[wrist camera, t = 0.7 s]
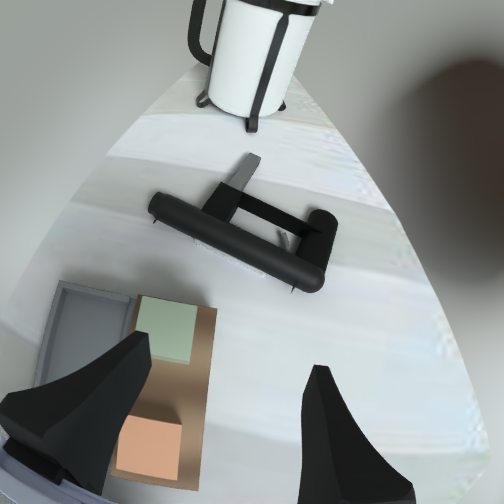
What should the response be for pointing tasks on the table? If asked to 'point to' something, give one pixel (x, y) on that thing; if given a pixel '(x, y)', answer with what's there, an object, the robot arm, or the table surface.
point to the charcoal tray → (81, 330)
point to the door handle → (246, 244)
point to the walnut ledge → (178, 401)
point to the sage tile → (168, 328)
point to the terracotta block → (149, 447)
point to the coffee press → (252, 53)
